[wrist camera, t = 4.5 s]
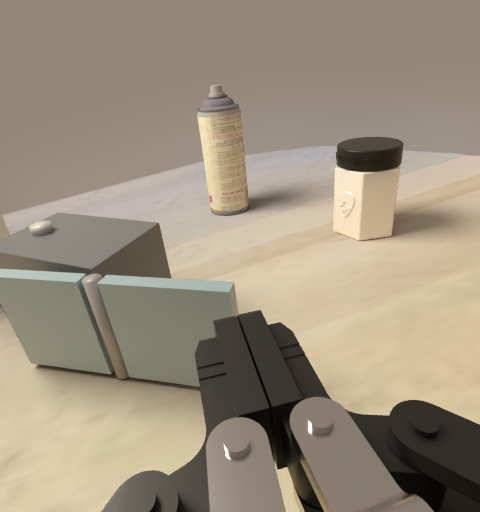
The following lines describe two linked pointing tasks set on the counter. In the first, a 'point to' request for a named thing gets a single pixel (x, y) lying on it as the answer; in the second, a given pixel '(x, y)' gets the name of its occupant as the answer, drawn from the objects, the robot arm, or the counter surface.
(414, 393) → the counter surface
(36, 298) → the side door
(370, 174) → the jar
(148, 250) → the block
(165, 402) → the counter surface
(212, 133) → the aerosol can
